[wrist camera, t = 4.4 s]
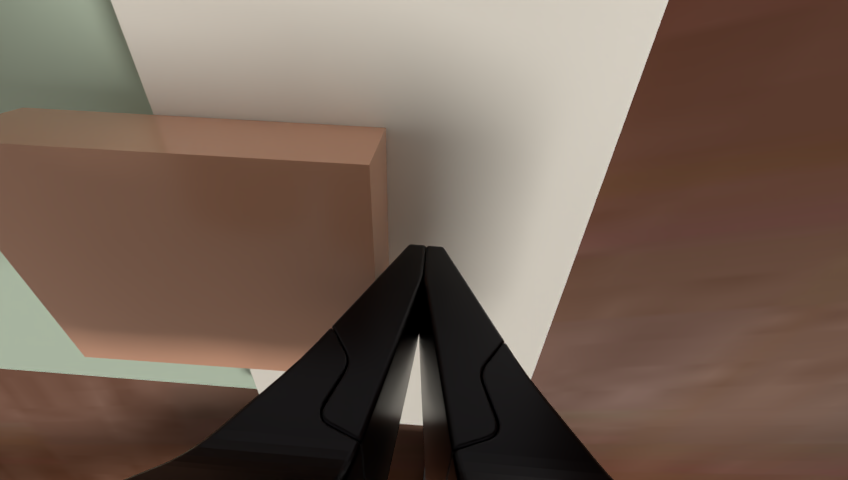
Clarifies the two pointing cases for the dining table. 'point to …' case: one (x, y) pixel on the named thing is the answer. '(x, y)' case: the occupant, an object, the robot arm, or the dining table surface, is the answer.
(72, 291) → the tile
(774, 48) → the dining table surface
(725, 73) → the dining table surface
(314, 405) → the robot arm
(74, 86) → the mat
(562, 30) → the deck
